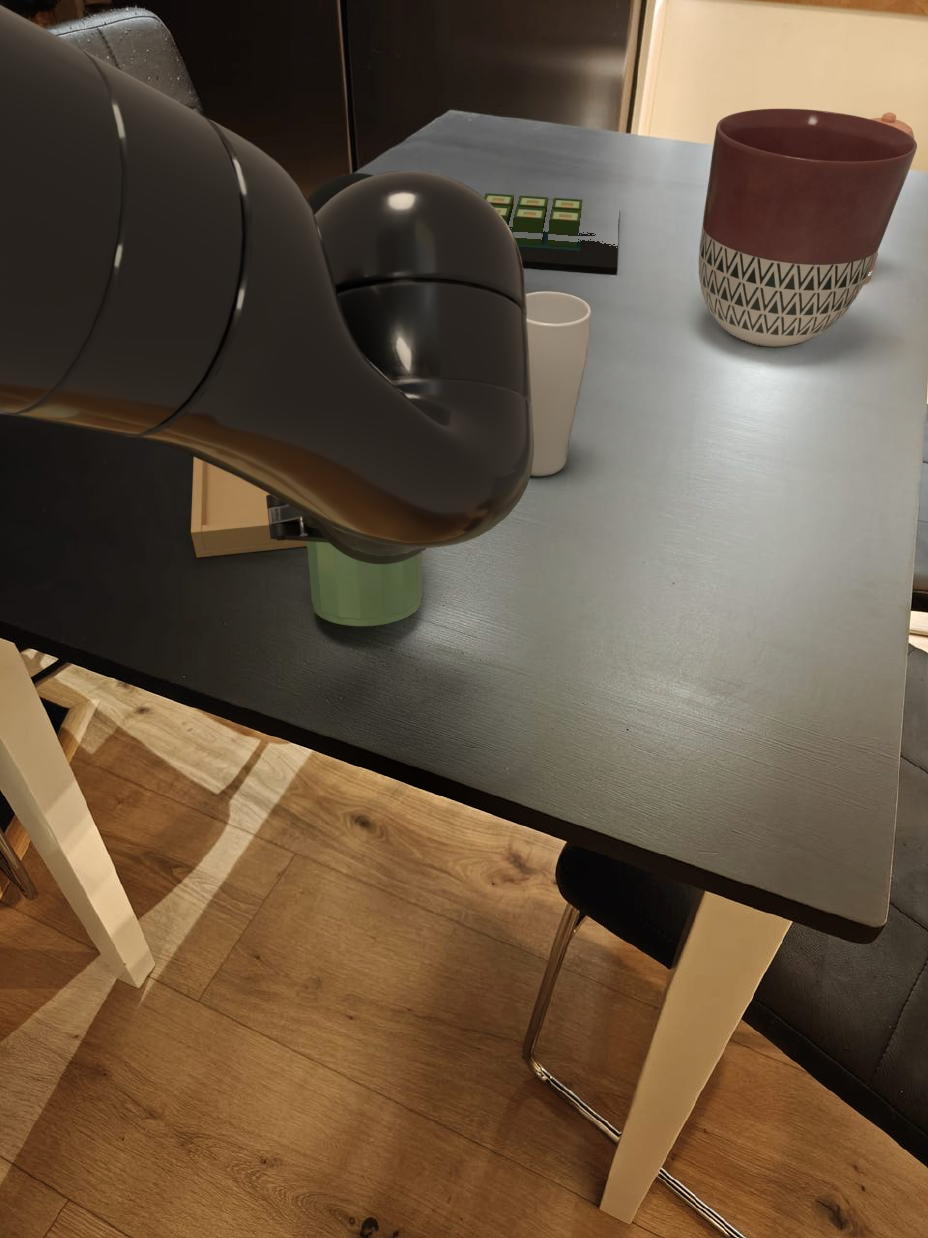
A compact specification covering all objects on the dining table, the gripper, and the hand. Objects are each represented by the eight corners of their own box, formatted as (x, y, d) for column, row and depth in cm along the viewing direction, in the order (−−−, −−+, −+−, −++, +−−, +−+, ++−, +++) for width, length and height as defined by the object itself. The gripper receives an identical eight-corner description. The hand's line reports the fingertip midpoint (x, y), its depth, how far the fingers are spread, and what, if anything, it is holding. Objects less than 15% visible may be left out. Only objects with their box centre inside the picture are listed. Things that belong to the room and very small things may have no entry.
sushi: (619, 210, 136) (622, 184, 133) (616, 274, 118) (620, 245, 115) (454, 199, 138) (455, 173, 136) (427, 260, 120) (427, 231, 117)
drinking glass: (586, 475, 83) (607, 318, 73) (519, 489, 81) (530, 330, 71) (554, 438, 87) (569, 285, 77) (489, 451, 85) (496, 296, 75)
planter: (821, 392, 95) (890, 175, 81) (651, 344, 103) (687, 137, 88) (869, 326, 108) (936, 128, 93) (714, 288, 115) (754, 98, 101)
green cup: (315, 631, 63) (299, 451, 58) (309, 583, 71) (295, 418, 65) (430, 620, 65) (426, 443, 59) (413, 575, 72) (408, 413, 66)
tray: (196, 558, 73) (190, 532, 71) (202, 369, 96) (197, 346, 95) (435, 533, 76) (435, 507, 74) (384, 356, 99) (383, 333, 98)
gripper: (253, 568, 42) (277, 595, 59) (527, 541, 44) (474, 574, 61) (235, 411, 43) (265, 482, 60) (509, 390, 44) (461, 465, 62)
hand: (371, 529), depth 61 cm, fingers closed
